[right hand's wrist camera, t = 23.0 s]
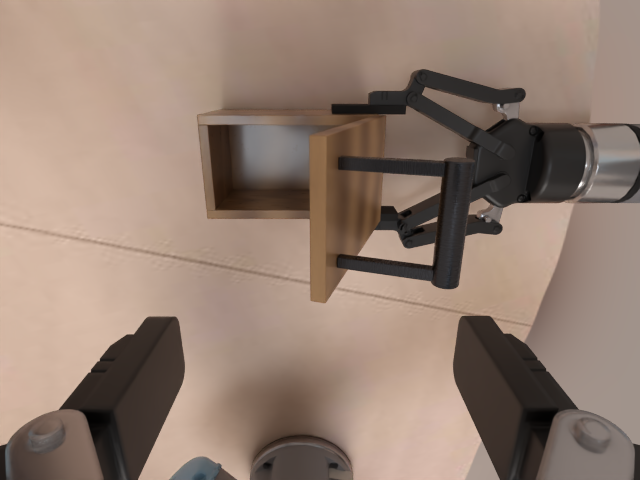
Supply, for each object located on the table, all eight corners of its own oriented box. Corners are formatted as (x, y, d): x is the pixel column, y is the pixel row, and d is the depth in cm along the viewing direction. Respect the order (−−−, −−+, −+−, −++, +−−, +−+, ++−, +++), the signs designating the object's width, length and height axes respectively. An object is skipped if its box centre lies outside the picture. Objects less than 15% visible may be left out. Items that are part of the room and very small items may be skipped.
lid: (310, 301, 23) (454, 326, 21) (308, 135, 20) (480, 141, 18) (370, 220, 37) (460, 229, 35) (375, 115, 34) (475, 117, 32)
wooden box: (227, 194, 46) (207, 218, 38) (220, 109, 43) (196, 114, 34) (364, 194, 46) (374, 218, 38) (367, 109, 43) (379, 115, 34)
